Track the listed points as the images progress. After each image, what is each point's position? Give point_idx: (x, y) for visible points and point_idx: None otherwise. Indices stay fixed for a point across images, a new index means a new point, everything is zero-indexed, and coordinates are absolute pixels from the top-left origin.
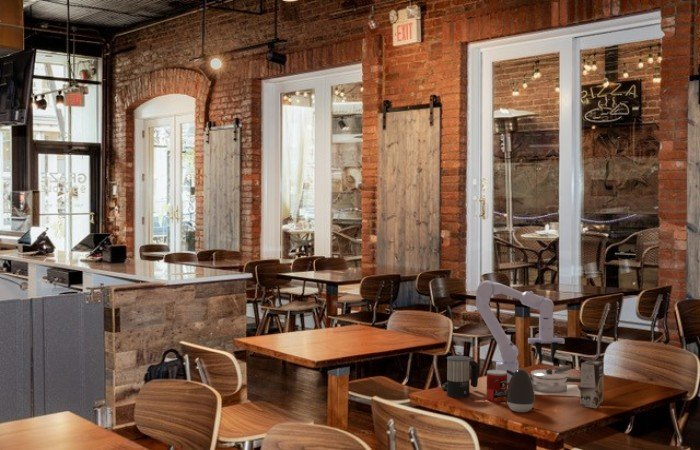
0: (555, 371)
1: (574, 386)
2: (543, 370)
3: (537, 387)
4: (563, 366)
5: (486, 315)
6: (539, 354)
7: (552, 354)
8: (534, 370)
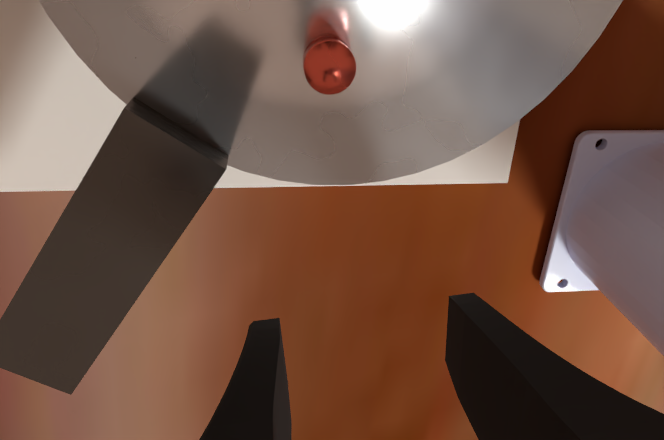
0: (224, 68)
1: (12, 112)
2: (413, 110)
3: None
4: (93, 315)
5: None
6: (555, 357)
7: (270, 397)
8: (554, 80)
